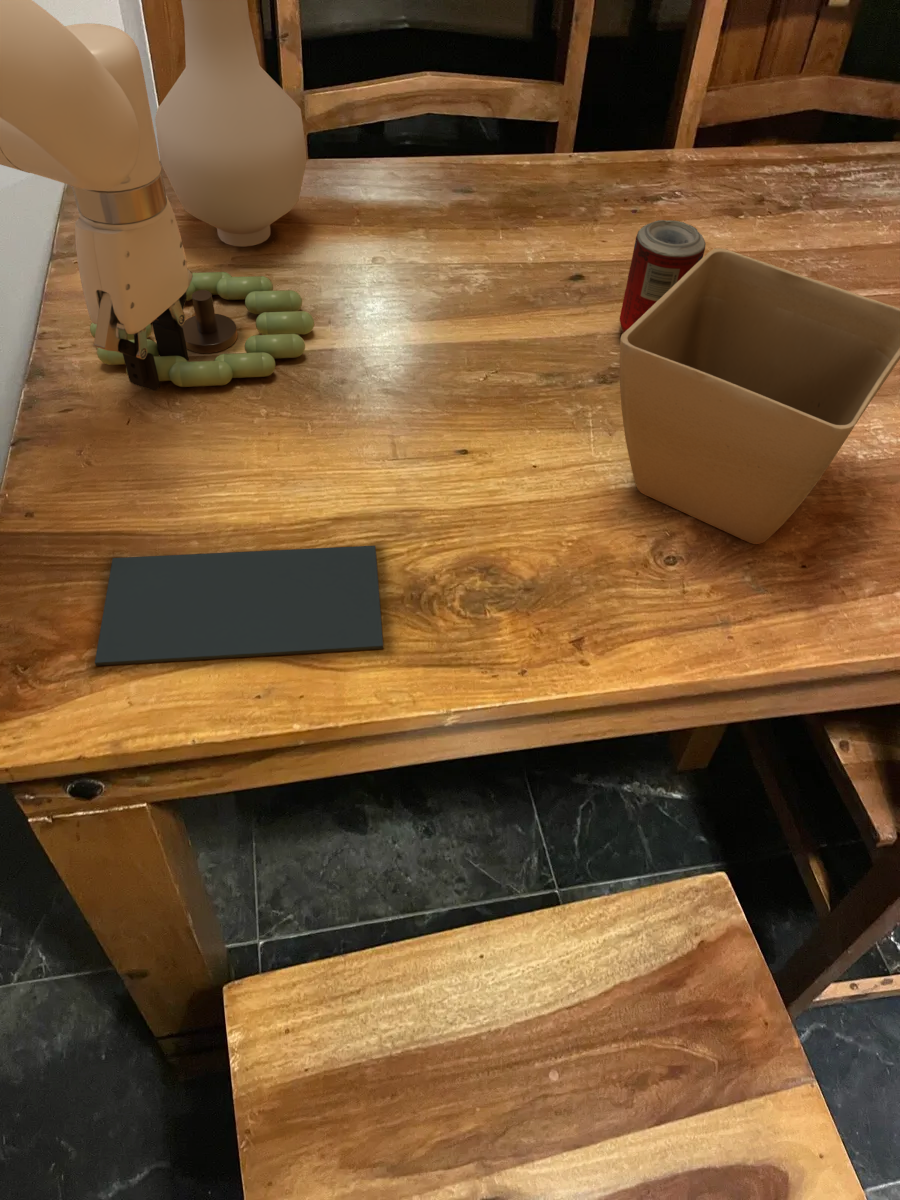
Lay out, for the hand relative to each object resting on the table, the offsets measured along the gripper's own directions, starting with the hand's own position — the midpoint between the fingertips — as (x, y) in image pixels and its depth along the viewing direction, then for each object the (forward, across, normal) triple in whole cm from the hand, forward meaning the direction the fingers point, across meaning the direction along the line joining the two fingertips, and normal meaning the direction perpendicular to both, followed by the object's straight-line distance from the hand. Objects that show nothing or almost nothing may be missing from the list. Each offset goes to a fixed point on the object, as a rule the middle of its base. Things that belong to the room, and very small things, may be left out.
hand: (159, 370), depth 94 cm
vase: (+1, -30, -8) cm, 31 cm away
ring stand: (+1, -9, 0) cm, 9 cm away
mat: (+2, +22, +23) cm, 32 cm away
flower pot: (+1, -10, +56) cm, 56 cm away
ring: (0, -8, 0) cm, 9 cm away
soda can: (+1, -30, +43) cm, 53 cm away
